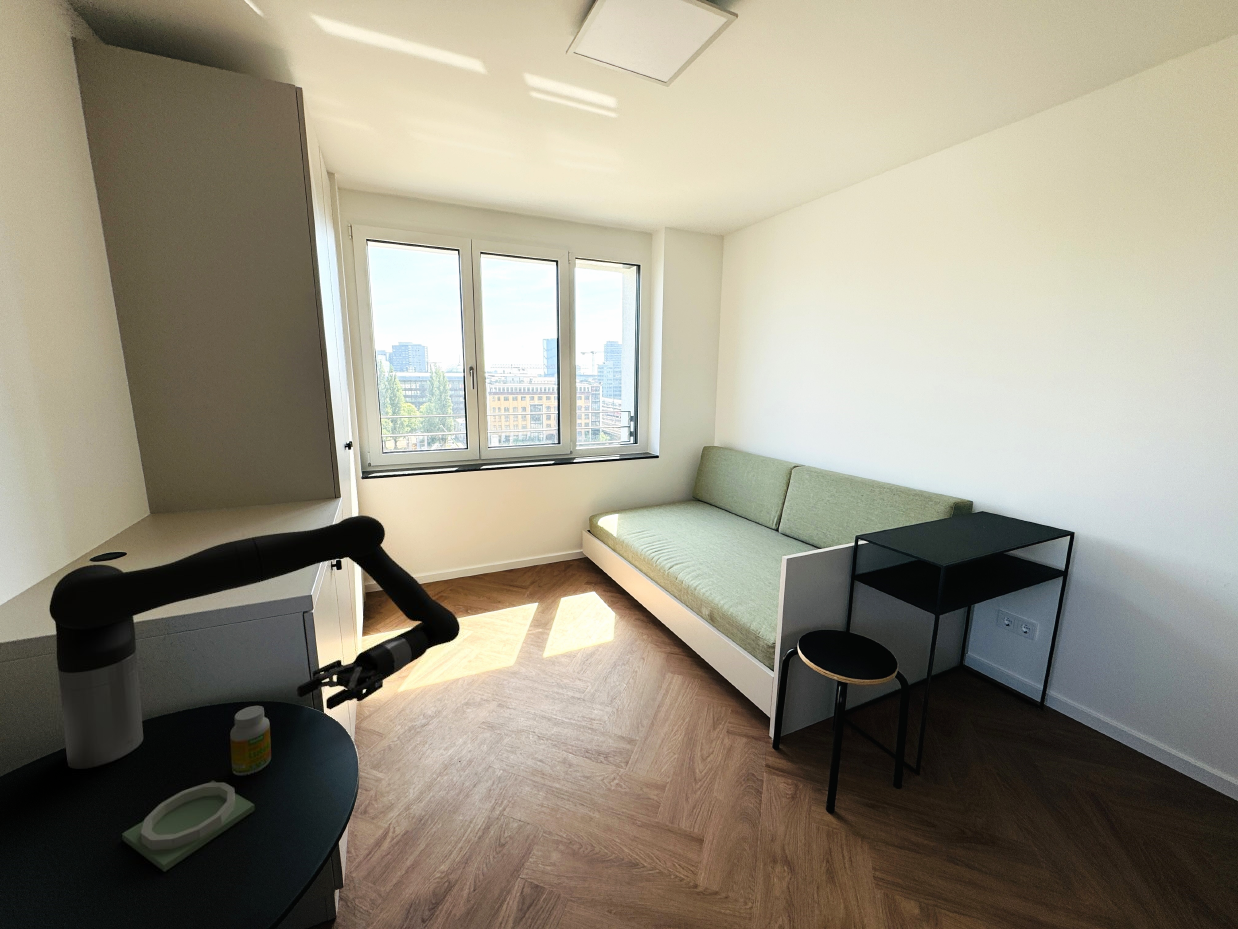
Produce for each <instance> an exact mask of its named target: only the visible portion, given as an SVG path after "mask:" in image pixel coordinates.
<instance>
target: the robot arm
mask: <svg viewBox="0 0 1238 929" xmlns="http://www.w3.org/2000/svg"><path fill="white" fill-rule="evenodd" d="M385 537H386V530H385V527H384V525H383V524H382V523H381V522H380V521H379V520H378V519H376V518H374V517H372V516H369V515H355V516H350V517H346V518H344V519H341V521H339V522H338V523H337V522H336V523H333V524H329V525H326V526H322V527H319V528H314V529H309V530H298V531H290V532H289V531H288V532H280V533H271V534H265V535H264V534H263V535H258V536H253V537H248V538H243V539H237V540H233V541H227V542H225V543H220V544H217V545H213V546H211V547H208V548H205V549H203V550H200V551H198V552H196V553H193V554H191V555H187V556H186V557H184V558H180V559H178V560H175V561H173V562H169V563H166V564H162V565H158V566H153V567H147V568H142V569H136V570H130V571H122V570H121V569H120V568H118V567H115V566H112V565H107V564H91V565H85V566H81V567H79V568H76V569H74V570H72V571H70V572H68V573H66V574H65V575H64V576H63V577H62V578H61V579H60V580H58V582H57V583H56V585H55V586H54V588H53V591H52V594H51V598H50V602H49V610H48V611H49V615H50V617H51V619H52V620H53V621H54V622H55V623H54V624H55V634H56V635H55V636H56V639H55V641H56V663H57V671H58V672H57V673H58V681H59V682H58V683H59V691H60V699H61V701H60V702H61V709H62V719H63V729H64V740H65V750H66V760H67V766H68V767H69V768H71V769H75V770H77V769H78V770H82V769H84V770H85V769H91V768H95V767H99V766H103V765H105V764H109V763H111V762H113V761H116V760H119V759H121V758H122V757H125V756H126V755H128V754H130V753H131V752H133V751H134V750H135V749H137V748H138V747H139V746H140V745H141V744H142V742H143V740H144V733H143V731H144V730H143V716H142V715H143V714H142V706H141V704H142V703H141V692H140V682H139V680H140V679H139V678H140V677H139V670H138V669H139V668H138V658H137V642H136V629H135V621H134V620H135V619H134V616H137V615H140V614H143V613H147V612H149V611H153V610H155V609H158V608H161V607H164V606H167V605H171V604H175V603H180V602H182V601H187V600H192V599H196V598H201V597H206V596H209V595H213V594H217V593H221V592H225V591H229V590H234V589H237V588H242V587H246V586H250V585H254V584H258V583H262V582H265V581H269V580H271V579H274V578H278V577H281V576H285V575H288V574H291V573H295V572H297V571H299V570H302V569H303V570H304V569H305V568H308V567H311V566H313V565H317V564H321V563H325V562H329V561H335V560H342V559H346V558H348V559H350V560H351V561H353V563H355V564H356V565H357V566H358V567H359V568H360V569H362V570H363V571H364V572H365V573H366V574H367V575H368V576H369V577H370V578H371V579H372V580H373V581H374V582H375V583H376V584H377V585H378V586H379V587H380V589H381V590H382V591H383V592H384V593H385V594H386V596H387V597H388V598H389V599H390V600H391V601H392V602H393V603H394V605H395V606H396V607H397V608H398V609H399V610H400V611H401V613H402V614H403V615H404V617H406V618H407V619H408V620H409V621H411V622H418V624H416V625H415V626H413V627H411V628H410V629H408V630H406V631H404V632H402V633H400V634H398V635H395V636H393V637H390V638H387V639H386V640H384V641H382V642H380V643H377V644H375V645H373V646H371V647H369V648H367V649H365V650H364V651H362V652H360V653H359V654H357V655H356V657H355V659H354V660H353V661H352V662H351V663H347V664H342V659H338V660H335V661H333V662H331V663H328V664H325V665H324V666H322V667H319V668H317V669H315V670H313V671H312V673H311V674H312V679H310V680H308V681H306V682H304V683H302V684H300V685H299V686H298V687H296V688H297V689H296V693H297V694H296V695H297V697H298V698H303V697H305V696H307V695H309V694H311V693H313V692H314V691H316V690H318V689H320V688H325V687H329V688H335V687H343V689H341V690H339V691H338V692H336V693H334V694H332V695H330V696H328V697H327V698H326V701H325V703H326V705H325V706H326V709H327V710H332V709H334V708H337V707H339V706H340V705H342V704H343V703H345V702H348V701H350V702H351V701H353V700H356V702H362V701H364V700H365V699H366V698H368V697H370V696H371V695H372V694H374V693H376V692H377V691H379V690H380V689H382V688H384V687H383V686H384V685H383V683H384V680H386V679H387V678H390V677H391V676H392V675H394V674H396V673H398V672H399V671H401V670H402V669H403V668H404V667H406V666H407V665H409V664H411V663H412V662H415V661H417V659H420V658H421V657H422V656H423V655H424V654H425V653H426V652H427V650H429V649H431V648H433V647H436V646H440V645H444V644H447V643H451V642H453V641H454V640H455V639H457V637H458V635H459V634H460V629H461V626H460V623H459V619H458V618H457V617H456V615H455V614H454V613H453V612H452V611H450V610H449V609H448V608H447V607H445V606H444V605H442V604H441V603H439V602H438V601H437V600H434V599H433V598H432V597H431V596H430V595H429V593H428V592H427V590H425V588H424V587H423V586H422V585H421V584H420V582H419V581H418V580H417V579H415V577H414V576H413V575H412V574H411V573H409V572H408V571H407V570H405V569H404V568H403V567H402V566H400V565H399V564H398V563H397V562H396V561H395V560H394V559H393V558H392V557H391V556H390V555H389V554H388V553H387V552H386V550H385V549H384V548H383V546H382V544H383V542H384V540H385ZM419 622H420V623H419ZM334 677H336V679H335V680H336V681H335V680H334ZM325 680H326V681H325Z"/></svg>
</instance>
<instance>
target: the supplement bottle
mask: <svg viewBox="0 0 1238 929" xmlns="http://www.w3.org/2000/svg"><path fill="white" fill-rule="evenodd" d="M270 725H271V724H270V721H269V719H268V717H265V710H264V707H263V706H261V705H254V706H253V705H252V706H248V707H245V708H243V709H241V710H239V711H237V713H236V714H235V715H234V726H232V729H231V730H230V738H229V739H230V758H231V769H232V770H231V771H232V773H233V774H234V775H236V776H247V774H248V775H251V773H252V774H255V773H257V772H259V771H261V770H263V769H264V768H265V767H266V766H268V765H269V763H270V762H271V759H272V749H271V746H272V745H271V744H272V743H271V726H270ZM254 772H255V773H254Z"/></svg>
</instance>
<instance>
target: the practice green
mask: <svg viewBox="0 0 1238 929" xmlns="http://www.w3.org/2000/svg"><path fill="white" fill-rule="evenodd" d="M254 811H255V804H254V803H252V802H251V801H249V800H247V799H245V798H244V797H242V796H240V795H239V794H237V793H235V787H233V786H231V785H229V784H227V783H226V782H216V781H215V780H211V781H209V782H208V783H203V784H200V785H196V786H193V787H191V788H188V789H185V790H182V791H180V792H178V793H176V794H175V795H173V796H171V797H169V798H168V799H166V800H164V801H162V802H161V803H160V804H158V805H157V806H156V807H155V808H154V809H153V810H152V811H151V812H150V813H149V814H148V815H147V816H146V817H145V818H144V820H143V821H141V822H139V823H138V824H136V825H134V826H133V827H131V828H130V829H127V830H126V831H124V832H122V834H121V835H122V836H121V837H122V841H123V842H124V843H126V844H127V845H129V846H130V847H131V848H132V849H134V850H135V851H136V852H138V853H139V854H140V855H142V857H144V858H146V859H147V860H148V861H150V863H152V864H153V865H154V866H156V867H157V868H159V870H161V871H162V872H164V873H165V872H166V871H168V870H169V869H171V868H172V867H174V866H175V865H177V864H178V863H180V862H181V861H183V860H184V859H186V858H187V857H189V856H190V855H191V854H193V853H194V852H195V851H197V850H199V849H200V848H202V847H203V846H205V845H206V844H208V843H209V842H210V841H212V840H213V839H215V838H217V836H220V834H222V833H224V832H225V831H227V830H228V829H229V828H231V827H233V826H234V825H235V824H237V823H238V822H240V821H241V820H243V819H244V818H246V817H247V816H248V815H250V814H252V813H254Z"/></svg>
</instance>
